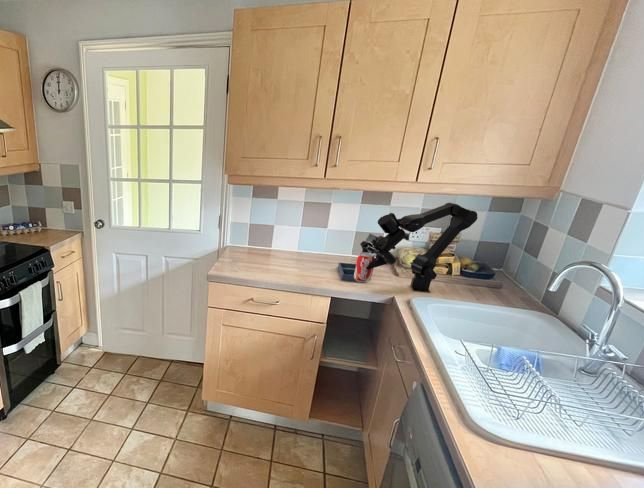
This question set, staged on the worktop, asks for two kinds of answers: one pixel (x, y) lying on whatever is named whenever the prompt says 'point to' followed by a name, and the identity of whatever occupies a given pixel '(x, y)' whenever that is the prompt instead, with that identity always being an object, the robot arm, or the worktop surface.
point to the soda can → (363, 267)
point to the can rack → (347, 272)
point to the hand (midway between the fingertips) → (361, 266)
